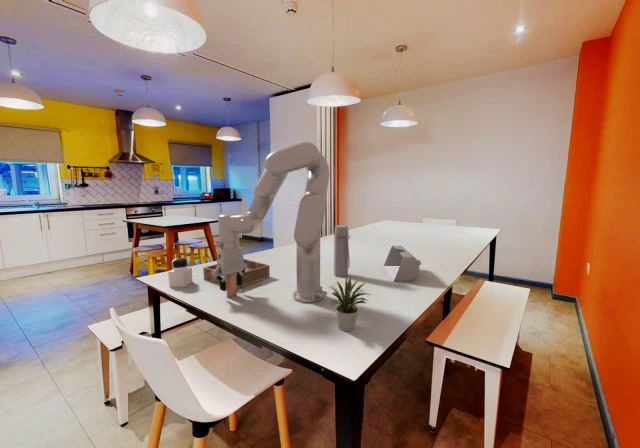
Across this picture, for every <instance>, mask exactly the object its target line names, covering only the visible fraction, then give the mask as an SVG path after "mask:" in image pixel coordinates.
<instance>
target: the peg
mask: <svg viewBox="0 0 640 448" xmlns="http://www.w3.org/2000/svg"><path fill="white" fill-rule="evenodd" d="M237 289H238V288H237V286H236V273H233V274H230V275H226V291H225V293H226V298H227V299H234V298H237V297H238V292H237V291H238V290H237Z"/></svg>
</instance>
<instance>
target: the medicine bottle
mask: <svg viewBox="0 0 640 448" xmlns="http://www.w3.org/2000/svg"><path fill="white" fill-rule="evenodd" d="M171 265H172V266H171V267H172V269H171V270H169V271H168V272H167V275H168V286H169V288H186V287H187V286H189V285H190V284H192V283H193V269H192V267H189V266H188V259H187V258H184V257H179V258H174V259H173V260H172V261H171Z"/></svg>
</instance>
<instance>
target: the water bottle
mask: <svg viewBox="0 0 640 448" xmlns="http://www.w3.org/2000/svg"><path fill="white" fill-rule="evenodd" d="M333 236H334V238H333V239H334V240H333V241H334V242H333V252H334V253H333V270H334V271H333V275H334V276H335V277H339V278H344V277H348V275H349V268H350V265H351V264H350V263H351V262H350V248H349V239H350V238H351V236H350V235H349V227H348V225H344V224H342V225H341V224H339V225H337V224H336V225H335V226H334V232H333Z"/></svg>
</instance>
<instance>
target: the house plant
mask: <svg viewBox="0 0 640 448" xmlns="http://www.w3.org/2000/svg"><path fill="white" fill-rule="evenodd" d="M358 281H359V280H356V281H355V282H354V283H352V277H350V278H349V279H348V277H346V278H345V283H344V288H343V287H342V285H341V283H340V282H338V281H336V283H335V282H334V284H336V285H337V286H338V288H339V289H337V288H336V287H335V285H333V284H331V285H329V288H330V289H332V290H333V291H334V292H332V293H331V294H332V295H333V296H335V298H337V299H338V300H339V301H337V300H334V299H332V300H331V302H330V305H331V306H334V305H337V306H336V308H335V312H336V313H335V314H336V320H337V324H338V325H337V326H338V329H339V330H340V331H342V332H352V331H354V330H355V329H354V328H356V324H357V323H356V322H357V318H358V313H359V309H358V307H357V306H356V305H357V304H366V305H367V303H366V302H368V299H366V298H364V297H360V296H364V295H369V296H370V295H372V293H367V292H365V291H363V289H361V288H362V287H363V286H364V285H366V283H367V282H364V283H362V284H360V285H359V286H358V287H356V288H355V290H354V291H353V289H354V287H355V286H356V284H357V283H358ZM339 290H340V291H339Z"/></svg>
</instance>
